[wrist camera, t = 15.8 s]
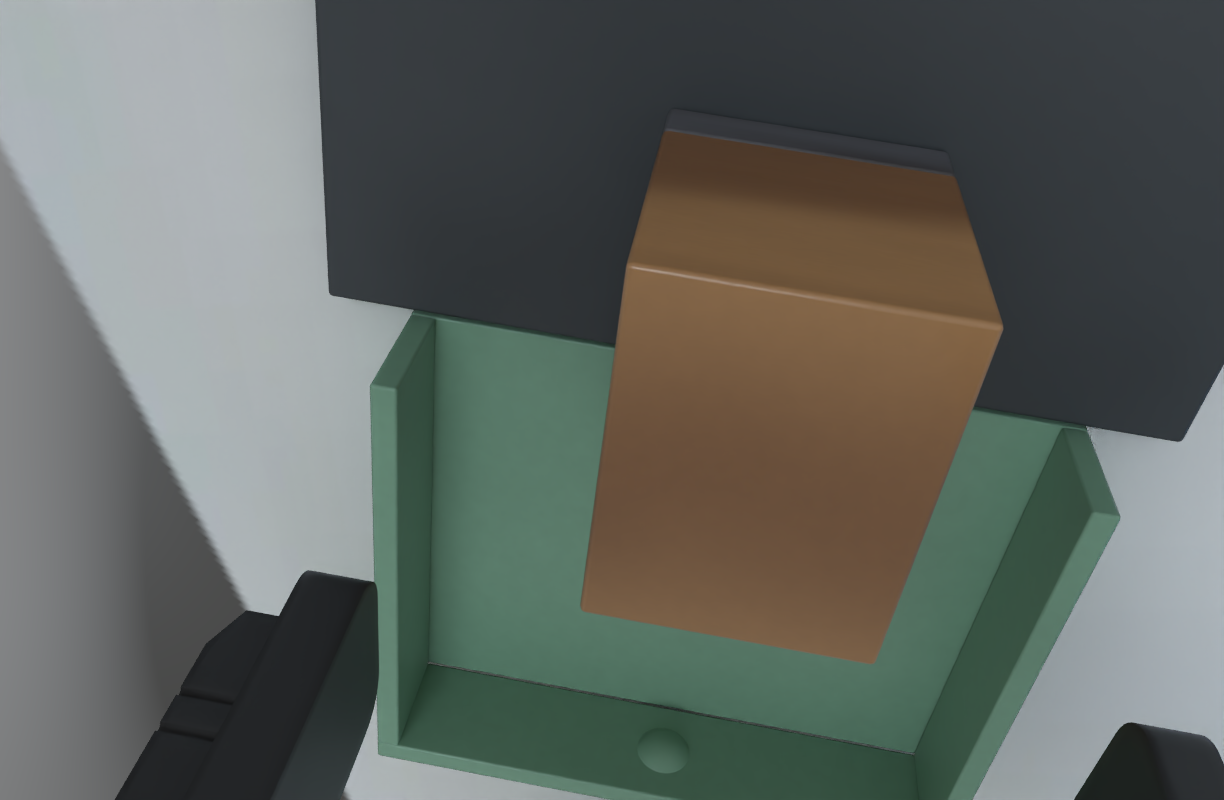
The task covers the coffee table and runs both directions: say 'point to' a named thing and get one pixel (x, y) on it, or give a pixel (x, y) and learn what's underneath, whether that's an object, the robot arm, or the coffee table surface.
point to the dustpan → (672, 658)
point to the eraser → (785, 384)
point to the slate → (813, 100)
